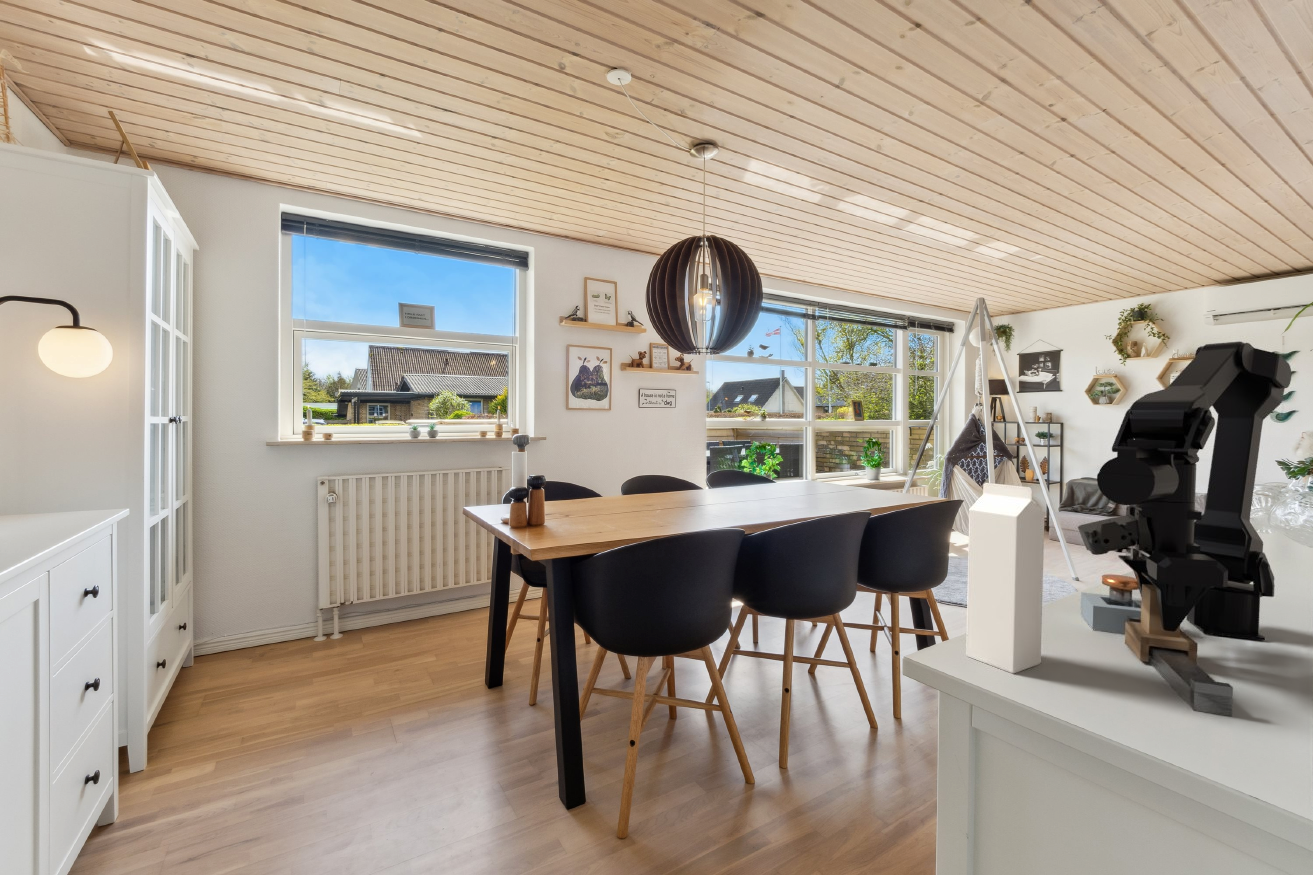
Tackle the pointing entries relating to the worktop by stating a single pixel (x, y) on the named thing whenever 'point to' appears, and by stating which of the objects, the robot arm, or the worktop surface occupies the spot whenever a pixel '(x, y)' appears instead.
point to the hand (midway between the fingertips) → (1159, 622)
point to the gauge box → (1107, 612)
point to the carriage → (1155, 630)
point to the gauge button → (1120, 589)
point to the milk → (1005, 578)
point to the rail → (1190, 680)
